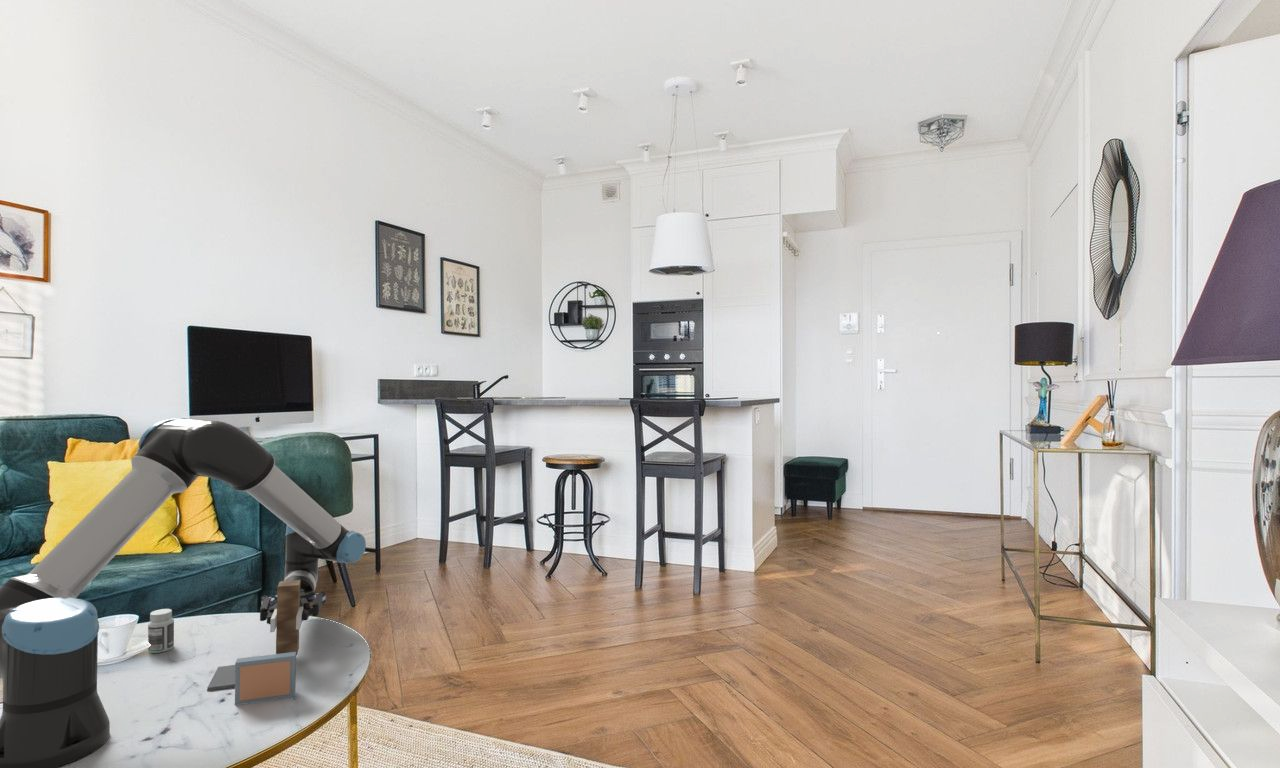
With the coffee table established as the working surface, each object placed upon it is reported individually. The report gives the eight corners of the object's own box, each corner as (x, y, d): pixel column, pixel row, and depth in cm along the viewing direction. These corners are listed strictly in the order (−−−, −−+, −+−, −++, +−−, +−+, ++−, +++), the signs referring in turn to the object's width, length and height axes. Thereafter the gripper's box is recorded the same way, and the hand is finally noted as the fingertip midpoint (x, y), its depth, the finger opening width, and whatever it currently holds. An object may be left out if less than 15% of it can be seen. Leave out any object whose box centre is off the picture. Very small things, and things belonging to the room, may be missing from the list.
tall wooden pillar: (275, 657, 141) (277, 586, 141) (278, 650, 145) (279, 581, 145) (296, 655, 143) (298, 585, 143) (298, 648, 147) (300, 579, 147)
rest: (207, 690, 131) (207, 687, 131) (218, 669, 140) (218, 666, 140) (265, 683, 135) (265, 680, 135) (272, 663, 144) (272, 660, 144)
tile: (234, 705, 125) (235, 663, 125) (236, 700, 127) (237, 658, 127) (294, 697, 129) (294, 656, 129) (295, 692, 131) (296, 651, 131)
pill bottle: (169, 643, 153) (170, 606, 153) (176, 648, 150) (177, 611, 150) (144, 649, 149) (145, 611, 149) (151, 655, 146) (152, 617, 146)
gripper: (335, 602, 164) (330, 637, 142) (256, 610, 157) (237, 647, 136) (336, 572, 164) (331, 602, 142) (257, 578, 157) (238, 610, 136)
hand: (285, 624), depth 139 cm, fingers closed on tall wooden pillar, 4 cm apart
